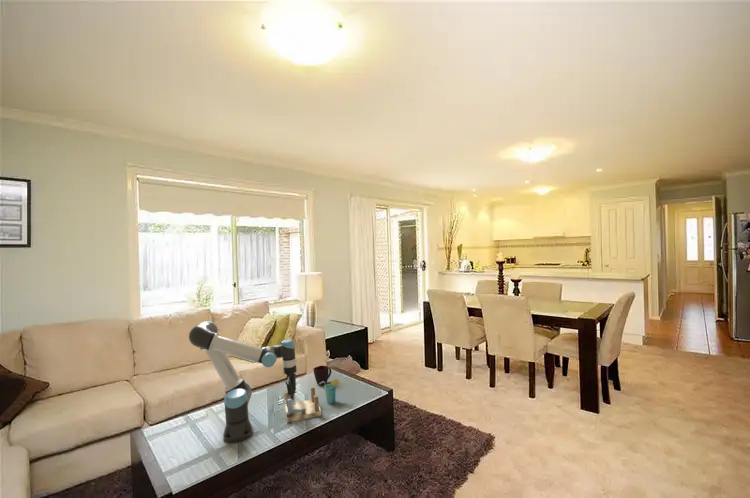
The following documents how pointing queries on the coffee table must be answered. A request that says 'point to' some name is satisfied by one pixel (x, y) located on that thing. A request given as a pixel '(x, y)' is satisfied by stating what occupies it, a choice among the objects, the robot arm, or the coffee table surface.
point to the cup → (331, 390)
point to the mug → (322, 374)
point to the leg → (291, 410)
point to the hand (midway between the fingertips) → (293, 404)
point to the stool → (310, 406)
